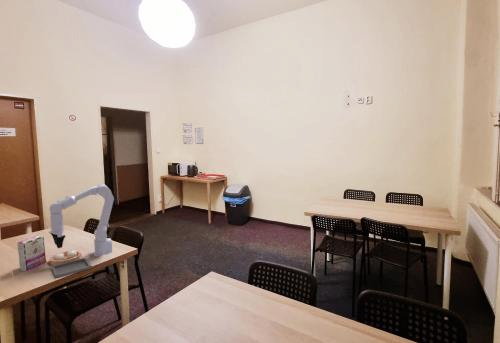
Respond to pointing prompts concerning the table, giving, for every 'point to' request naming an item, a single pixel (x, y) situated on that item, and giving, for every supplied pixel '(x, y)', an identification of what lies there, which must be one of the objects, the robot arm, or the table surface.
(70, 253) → the white rounded piece
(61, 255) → the white rounded piece
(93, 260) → the table surface
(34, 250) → the candy bar box
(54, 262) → the bowl
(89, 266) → the parts tray
